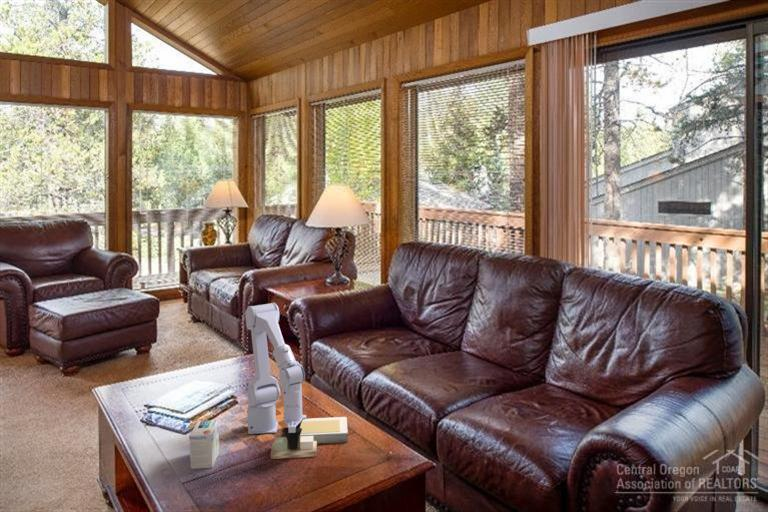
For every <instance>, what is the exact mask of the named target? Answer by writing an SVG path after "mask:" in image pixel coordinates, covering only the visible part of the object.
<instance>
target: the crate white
mask: <svg viewBox="0 0 768 512" xmlns="http://www.w3.org/2000/svg"><path fill="white" fill-rule="evenodd" d="M313 444H314V440H313V436H301V438H300V450H304V449H313Z"/></svg>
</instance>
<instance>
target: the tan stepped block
mask: <svg viewBox="0 0 768 512" xmlns="http://www.w3.org/2000/svg"><path fill="white" fill-rule="evenodd" d="M300 438H301V434H300V436H299V440H298V447H297V450H290V448H289V444H288V440H287V450H285V451H274V442H273V443H272V446H271V450H270V460H272V459H273V460H275V459H276V460H277V459H292V458H297V459H298V458H312V457H313V458H314V457H317V451H318V449H317V448H318V444H317V441H314V444H313V449H304V450H300Z"/></svg>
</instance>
